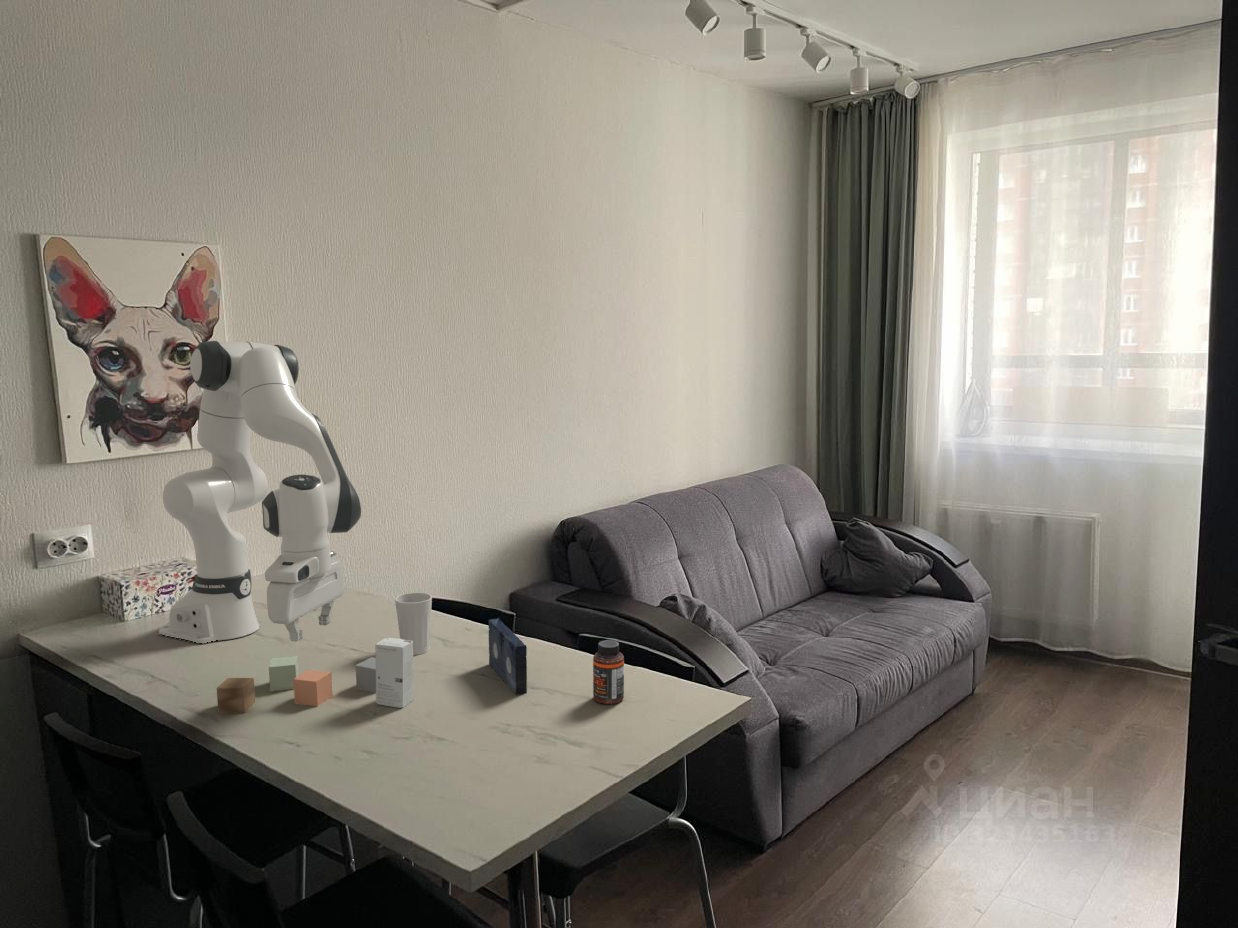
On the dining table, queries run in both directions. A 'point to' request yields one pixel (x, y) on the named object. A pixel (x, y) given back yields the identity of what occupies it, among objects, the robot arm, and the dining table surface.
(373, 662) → the slate cube
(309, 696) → the terracotta cube
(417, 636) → the cup
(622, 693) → the supplement bottle
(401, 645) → the skincare box
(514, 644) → the vhs cassette tape
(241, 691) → the walnut cube
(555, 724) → the dining table surface
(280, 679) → the sage cube
